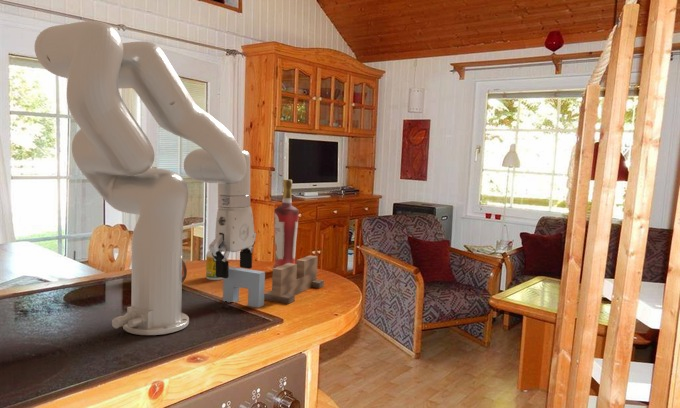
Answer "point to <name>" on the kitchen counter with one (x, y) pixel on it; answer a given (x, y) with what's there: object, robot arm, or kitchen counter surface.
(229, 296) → the blue slotted plate
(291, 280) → the walnut slotted rail
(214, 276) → the supplement bottle
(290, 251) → the liquor
